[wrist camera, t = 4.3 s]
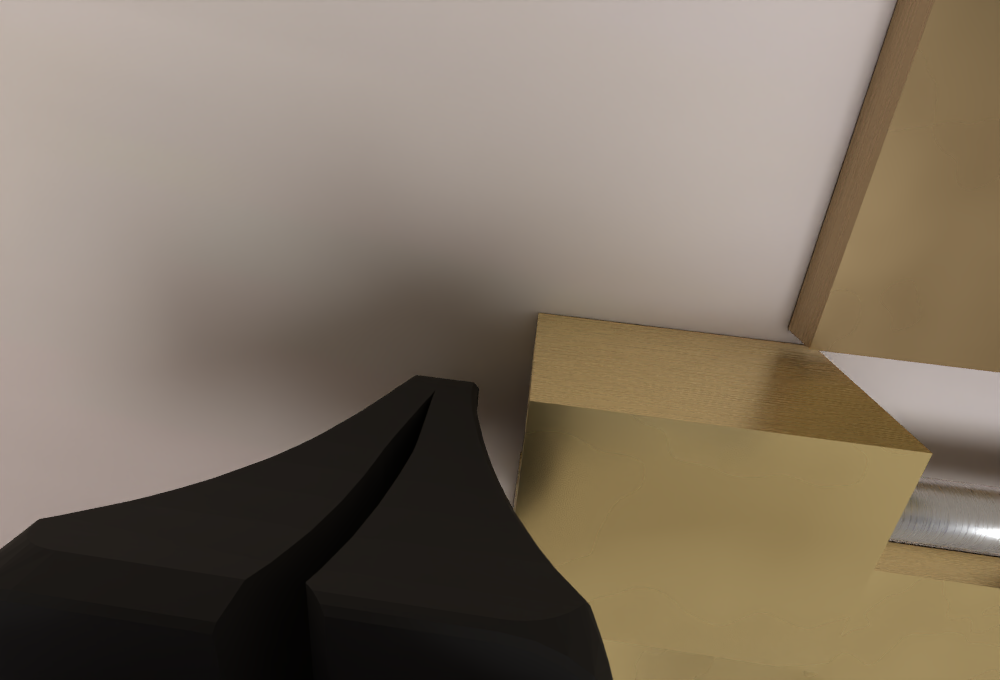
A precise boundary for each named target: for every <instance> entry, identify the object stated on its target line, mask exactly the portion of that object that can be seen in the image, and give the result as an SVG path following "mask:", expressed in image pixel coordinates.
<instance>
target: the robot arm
mask: <svg viewBox="0 0 1000 680" xmlns="http://www.w3.org/2000/svg"><path fill="white" fill-rule="evenodd" d="M478 394H479V388H478V387H477V385H476V384H475V383H473V382H466V381H458V380H450V379H442V378H434V377H426V376H418V375H416V376H415V377H413V378H411V379H410V380H408V381H407V382H405V383H404V384H402V385H401V386H399V387H398V388H396V389H395V390H393V391H392V392H390V393H389V394H387V395H386V396H384V397H383V398H381V399H380V400H378V401H376V402H375V403H373V404H372V405H370V406H369V407H367V408H366V409H364V410H363V411H361V412H359V413H358V414H356V415H354V416H352V417H351V418H349V419H347V420H345V421H344V422H342V423H340V424H338V425H337V426H335V427H333V428H331V429H330V430H328V431H326V432H324V433H322V434H321V435H319V436H317V437H315V438H313V439H311V440H309V441H307V442H304V443H302V444H300V445H298V446H296V447H294V448H291V449H289V450H287V451H285V452H282V453H280V454H278V455H276V456H273V457H271V458H268V459H266V460H263V461H260V462H258V463H255V464H252V465H249V466H246V467H244V468H241V469H238V470H235V471H232V472H230V473H227V474H224V475H221V476H219V477H216V478H213V479H209V480H206V481H203V482H199V483H196V484H193V485H189V486H186V487H183V488H179V489H175V490H172V491H168V492H164V493H160V494H156V495H153V496H149V497H145V498H141V499H136V500H132V501H128V502H123V503H118V504H114V505H109V506H104V507H99V508H94V509H89V510H84V511H79V512H74V513H70V514H65V515H60V516H54V517H48V518H43V519H39V520H37V521H36V522H35V523H33V524H32V525H31V526H30V527H28V528H27V529H26V530H25V531H23V532H22V533H21V534H19V535H18V536H17V537H16V538H14V539H13V540H12V541H10V542H9V543H8V544H7V545H5V546H4V547H3V548H1V549H0V680H613V677H612V672H611V668H610V664H609V660H608V657H607V654H606V650H605V647H604V644H603V640H602V637H601V634H600V631H599V628H598V625H597V622H596V620H595V617H594V614H593V611H592V608H591V606H590V604H589V603H588V602H587V601H586V600H585V599H584V598H583V597H582V596H581V595H580V594H579V593H578V592H577V591H576V589H575V588H574V587H573V586H572V585H571V584H570V583H569V582H568V581H567V580H566V579H565V578H564V577H563V576H562V575H561V574H560V573H559V572H558V571H557V570H556V568H555V567H554V566H553V565H552V563H551V562H550V561H549V560H548V558H547V557H546V556H545V555H544V553H543V552H542V551H541V550H540V548H539V547H538V546H537V544H536V543H535V541H534V540H533V538H532V537H531V535H530V534H529V532H528V531H527V529H526V528H525V526H524V525H523V523H522V522H521V520H520V519H519V517H518V516H517V515H516V513H515V511H514V510H513V508H512V506H511V504H510V502H509V500H508V499H507V497H506V495H505V493H504V491H503V489H502V487H501V485H500V483H499V481H498V479H497V476H496V474H495V472H494V469H493V467H492V464H491V462H490V459H489V456H488V453H487V450H486V447H485V444H484V441H483V437H482V433H481V429H480V425H479V420H478V414H477V407H478Z"/></svg>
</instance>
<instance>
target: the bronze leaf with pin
mask: <svg viewBox="0 0 1000 680" xmlns="http://www.w3.org/2000/svg"><path fill="white" fill-rule="evenodd" d="M788 330H790V331H791V332H792V333H793V334H794V335H795V336H796V337H797V338H798V339H799V340H800V341H801V342H802V343H804V344H805V345H806V346H807V347H808V348H809V349H812V350H820V351H828V352H837V353H845V354H853V355H861V356H869V357H878V358H886V359H894V360H902V361H910V362H919V363H927V364H935V365H943V366H951V367H960V368H968V369H976V370H984V371H992V372H1000V0H898V2H897V5H896V8H895V11H894V14H893V17H892V20H891V23H890V26H889V29H888V32H887V35H886V38H885V41H884V44H883V47H882V50H881V53H880V56H879V59H878V62H877V65H876V68H875V71H874V74H873V77H872V80H871V83H870V86H869V89H868V92H867V95H866V98H865V101H864V104H863V107H862V110H861V113H860V116H859V119H858V122H857V125H856V128H855V131H854V134H853V137H852V140H851V143H850V146H849V149H848V152H847V154H846V157H845V160H844V163H843V166H842V169H841V172H840V175H839V178H838V181H837V184H836V187H835V190H834V193H833V196H832V199H831V202H830V205H829V208H828V211H827V214H826V217H825V220H824V223H823V226H822V229H821V232H820V235H819V238H818V241H817V244H816V247H815V250H814V253H813V256H812V259H811V262H810V265H809V268H808V271H807V274H806V277H805V280H804V283H803V286H802V289H801V292H800V295H799V298H798V301H797V304H796V307H795V310H794V313H793V316H792V319H791V322H790V325H789V328H788ZM890 539H893V540H900V541H907V542H914V543H922V544H929V545H936V546H943V547H950V548H957V549H964V550H971V551H978V552H985V553H992V554H1000V487H992V486H985V485H977V484H970V483H963V482H955V481H948V480H940V479H933V478H925V477H921V478H920V480H919V482H918V484H917V486H916V487H915V489H914V491H913V493H912V495H911V497H910V499H909V501H908V503H907V505H906V507H905V509H904V511H903V513H902V515H901V517H900V519H899V521H898V523H897V525H896V527H895V529H894V531H893V533H892V535H891V537H890Z"/></svg>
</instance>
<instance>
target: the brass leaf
mask: <svg viewBox="0 0 1000 680" xmlns="http://www.w3.org/2000/svg"><path fill="white" fill-rule="evenodd" d="M932 454H933V453H932V452H930V451H929V450H928V449H927V448H926V447H925V446H924V445H923V444H922V443H920V442H919V441H918V440H917V439H916V438H915V437H914V436H913V435H912V434H910V433H909V432H908V431H907V430H906V429H905V428H904V427H903V426H902V425H900V424H899V423H898V422H897V421H896V420H895V419H894V418H893V417H892V416H890V415H889V414H888V413H887V412H886V411H885V410H884V409H883V408H882V407H880V406H879V405H878V404H877V403H876V402H875V401H874V400H873V399H872V398H870V397H869V396H868V395H867V394H866V393H865V392H864V391H863V390H862V389H860V388H859V387H858V386H857V385H856V384H855V383H854V382H853V381H852V380H851V379H849V378H848V377H847V376H846V375H845V374H844V373H843V372H842V371H841V370H839V369H838V368H837V367H836V366H835V365H834V364H833V363H832V362H831V361H829V360H828V359H827V358H826V357H825V356H824V355H823V354H822V353H821V352H819V351H818V350H812V349H809V348H808V347H807V346H806V345H798V344H790V343H782V342H774V341H765V340H757V339H749V338H741V337H733V336H724V335H716V334H708V333H700V332H691V331H683V330H675V329H667V328H658V327H650V326H642V325H634V324H626V323H617V322H609V321H601V320H593V319H584V318H576V317H568V316H560V315H551V314H543V313H539V314H538V321H537V329H536V337H535V345H534V352H533V360H532V370H531V379H530V388H529V397H528V407H527V416H526V425H525V434H524V443H523V450H522V452H521V454H520V461H519V469H518V477H517V485H516V493H515V500H514V508H513V510H514V511H515V513H516V515H517V516H518V517H519V519H520V520H521V522H522V523H523V525H524V526H525V528H526V529H527V531H528V532H529V534H530V535H531V537H532V538H533V540H534V541H535V543H536V544H537V546H538V547H539V548H540V550H541V551H542V552H543V553H544V555H545V556H546V557H547V558H548V560H549V561H550V562H551V563H552V565H553V566H554V567H555V568H556V570H557V571H558V572H559V573H560V574H561V575H562V576H563V577H564V578H565V579H566V580H567V581H568V582H569V583H570V584H571V585H572V586H573V587H574V588H575V589H576V591H577V592H578V593H579V594H580V595H581V596H582V597H583V598H584V599H585V600H586V601H587V602H588V603H589V604H590V606H591V608H592V611H593V614H594V617H595V620H596V622H597V625H598V628H599V631H600V634H601V637H602V640H603V644H604V647H605V650H606V654H607V657H608V660H609V664H610V668H611V672H612V677H613V680H1000V558H998V557H991V556H984V555H977V554H970V553H963V552H956V551H949V550H942V549H935V548H927V547H920V546H913V545H906V544H899V543H892V542H888V541H889V539H890V537H891V535H892V533H893V531H894V529H895V527H896V525H897V523H898V521H899V519H900V517H901V515H902V513H903V511H904V509H905V507H906V505H907V503H908V501H909V499H910V497H911V495H912V493H913V491H914V489H915V487H916V486H917V484H918V482H919V480H920V478H921V476H922V474H923V472H924V470H925V468H926V466H927V464H928V462H929V460H930V458H931V456H932Z"/></svg>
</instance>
